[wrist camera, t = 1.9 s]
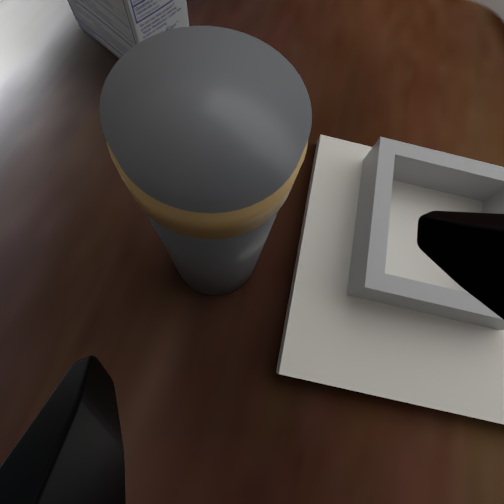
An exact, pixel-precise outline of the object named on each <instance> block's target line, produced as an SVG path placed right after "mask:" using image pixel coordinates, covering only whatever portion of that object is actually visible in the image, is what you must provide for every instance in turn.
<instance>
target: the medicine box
mask: <svg viewBox="0 0 504 504" xmlns="http://www.w3.org/2000/svg"><path fill="white" fill-rule="evenodd" d="M67 1H68V3H69V5H70V7H71V9H72V11H73V13H74V16H75V18H76V20H77V22H78V24H79V26H80V27H81V28H82V29H83V30H85V31H86V32H87V33H88V34H89V35H91V36H92V37H93V38H94V39H96V40H97V41H98V42H99V43H100V44H102V45H103V46H104V47H105V48H107V49H108V50H109V51H110V52H112V53H113V54H114V55H115V56H116V57H118V58H119V59H120V58H121V57H122V56H123V55H124V54H125V53H126V52H127V51H128V50H130V49H131V48H132V47H134V46H135V45H136V44H138V43H140V42H141V41H143V40H145V39H146V38H149V37H151V36H153V35H155V34H158V33H161V32H164V31H167V30H170V29H175V28H180V27H188V26H189V21H188V13H187V4H186V0H67Z"/></svg>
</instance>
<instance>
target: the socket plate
mask: <svg viewBox="0 0 504 504" xmlns="http://www.w3.org/2000/svg"><path fill="white" fill-rule="evenodd" d="M431 211H454V212H475V213H495V214H504V167H501V166H497V165H493V164H489V163H485V162H481V161H477V160H473V159H468V158H464V157H460V156H456V155H452V154H448V153H444V152H440V151H436V150H432V149H428V148H424V147H420V146H416V145H412V144H408V143H404V142H400V141H396V140H392V139H387V138H383V137H380V138H379V139H378V141H377V142H376V143H375V145H374V146H373V147H369V146H365V145H361V144H357V143H353V142H349V141H345V140H341V139H337V138H333V137H329V136H324V135H320V137H319V139H318V142H317V144H316V150H315V155H314V161H313V167H312V172H311V178H310V183H309V189H308V195H307V200H306V206H305V211H304V217H303V223H302V228H301V234H300V239H299V245H298V251H297V256H296V262H295V268H294V273H293V279H292V284H291V290H290V296H289V301H288V307H287V312H286V318H285V324H284V329H283V335H282V340H281V346H280V352H279V357H278V363H277V368H276V373H277V374H280V375H285V376H289V377H294V378H298V379H303V380H307V381H312V382H316V383H321V384H325V385H330V386H334V387H339V388H343V389H347V390H352V391H356V392H361V393H365V394H370V395H374V396H379V397H383V398H388V399H392V400H397V401H401V402H406V403H410V404H414V405H419V406H423V407H428V408H432V409H437V410H441V411H446V412H450V413H455V414H459V415H464V416H468V417H473V418H477V419H482V420H486V421H490V422H495V423H499V424H504V320H503V319H502V318H501V317H499V316H498V315H497V314H495V313H494V312H493V311H492V310H490V309H489V308H488V307H486V306H485V305H484V304H482V303H481V302H480V301H479V300H477V299H476V298H475V297H473V296H472V295H471V294H470V293H468V292H467V291H466V290H464V289H463V288H462V287H461V286H460V285H458V284H457V283H456V282H455V281H454V280H453V279H452V278H451V277H450V276H448V275H447V274H446V273H445V272H444V271H443V270H442V269H441V268H440V267H439V266H438V265H437V264H436V263H434V262H433V261H432V260H431V259H430V258H429V257H428V256H427V255H426V254H425V253H424V252H423V251H422V250H421V249H420V248H419V247H418V244H417V229H418V220H419V218H420V216H422V215H424V214H426V213H428V212H431Z"/></svg>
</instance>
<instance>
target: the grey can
mask: <svg viewBox="0 0 504 504" xmlns="http://www.w3.org/2000/svg"><path fill="white" fill-rule="evenodd" d="M99 114H100V121H101V127H102V130H103V133H104V136H105V139H106V141H107V147H108V150H109V153H110V156H111V158H112V160H113V162H114V164H115V166H116V168H117V170H118V172H119V174H120V175H121V177H122V179H123V180H124V182H125V184H126V186H127V187H128V189H129V191H130V193H131V194H132V196H133V198H134V199H135V201H136V202H137V203H138V205H139V206H140V208H141V209H142V210H143V211H144V212H145V213H146V214H147V216H148V217H149V219H150V221H151V223H152V225H153V226H154V228H155V230H156V232H157V234H158V236H159V237H160V239H161V241H162V243H163V245H164V246H165V248H166V250H167V252H168V254H169V255H170V257H171V259H172V261H173V263H174V264H175V266H176V268H177V270H178V272H179V273H180V275H181V277H182V278H183V280H184V281H185V282H186V283H187V284H188V285H189V286H190V287H191V288H193V289H194V290H196V291H198V292H200V293H203V294H207V295H224V294H228V293H231V292H233V291H235V290H237V289H239V288H240V287H241V286H243V285H244V284H245V283H246V282H247V280H248V279H249V278H250V276H251V274H252V272H253V270H254V267H255V265H256V263H257V260H258V258H259V256H260V253H261V251H262V248H263V246H264V244H265V241H266V239H267V237H268V234H269V232H270V229H271V227H272V225H273V222H274V220H275V217H276V215H277V213H278V210H279V209H280V208H281V207H282V205H283V203H284V202H285V200H286V199H287V197H288V195H289V192H290V190H291V188H292V186H293V183H294V181H295V179H296V176H297V174H298V172H299V170H300V167H301V165H302V163H303V161H304V158H305V154H306V151H307V145H308V138H309V134H310V130H311V122H312V111H311V103H310V99H309V95H308V92H307V89H306V87H305V85H304V83H303V81H302V79H301V77H300V75H299V74H298V73H297V71H296V70H295V68H294V67H293V66H292V65H291V64H290V63H289V61H288V60H287V59H286V58H285V57H284V56H282V55H281V54H280V53H279V52H278V51H277V50H275V49H274V48H272V47H271V46H269V45H268V44H266V43H264V42H263V41H261V40H259V39H257V38H255V37H253V36H250V35H248V34H245V33H242V32H239V31H236V30H232V29H227V28H222V27H214V26H188V27H180V28H175V29H170V30H167V31H164V32H161V33H158V34H155V35H153V36H151V37H149V38H146V39H145V40H143V41H141V42H140V43H138V44H136V45H135V46H134V47H132V48H131V49H130V50H128V51H127V52H126V53H125V54H124V55H123V56H122V57H121V58H120V59H119V60H118V61H117V63H116V64H115V65H114V67H113V68H112V69H111V71H110V73H109V75H108V76H107V78H106V80H105V83H104V86H103V89H102V92H101V97H100V109H99Z"/></svg>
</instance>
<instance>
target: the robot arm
mask: <svg viewBox="0 0 504 504" xmlns="http://www.w3.org/2000/svg"><path fill="white" fill-rule="evenodd" d="M417 244H418V247H419V248H420V249H421V250H422V251H423V252H424V253H425V254H426V255H427V256H428V257H429V258H430V259H431V260H432V261H433V262H434V263H436V264H437V265H438V266H439V267H440V268H441V269H442V270H443V271H444V272H445V273H446V274H447V275H448V276H450V277H451V278H452V279H453V280H454V281H455V282H456V283H457V284H458V285H460V286H461V287H462V288H463V289H464V290H466V291H467V292H468V293H470V294H471V295H472V296H473V297H475V298H476V299H477V300H479V301H480V302H481V303H482V304H484V305H485V306H486V307H488V308H489V309H490V310H492V311H493V312H494V313H495V314H497V315H498V316H499V317H501V318H502V319H503V320H504V214H495V213H475V212H454V211H431V212H428V213H426V214H424V215H422V216H420V218H419V220H418V229H417ZM0 504H126V503H125V469H124V450H123V442H122V435H121V428H120V421H119V415H118V408H117V401H116V395H115V388H114V384H113V381H112V379H111V377H110V375H109V374H108V373H107V371H106V370H105V369H104V367H103V366H102V364H101V363H100V362H99V360H98V359H97V358H96V357H95V356H89V357H86V358H84V359H81V360H79V361H77V362H75V363H74V364H73V365H72V366H71V367H70V369H69V370H68V372H67V373H66V375H65V376H64V377H63V379H62V380H61V382H60V383H59V384H58V386H57V387H56V389H55V390H54V392H53V393H52V394H51V396H50V397H49V399H48V400H47V401H46V403H45V404H44V406H43V407H42V409H41V410H40V411H39V413H38V414H37V416H36V417H35V418H34V420H33V421H32V423H31V424H30V426H29V427H28V428H27V430H26V431H25V433H24V434H23V436H22V437H21V438H20V440H19V441H18V443H17V444H16V445H15V447H14V448H13V450H12V451H11V453H10V454H9V455H8V457H7V458H6V460H5V461H4V462H3V464H2V465H1V467H0Z"/></svg>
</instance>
